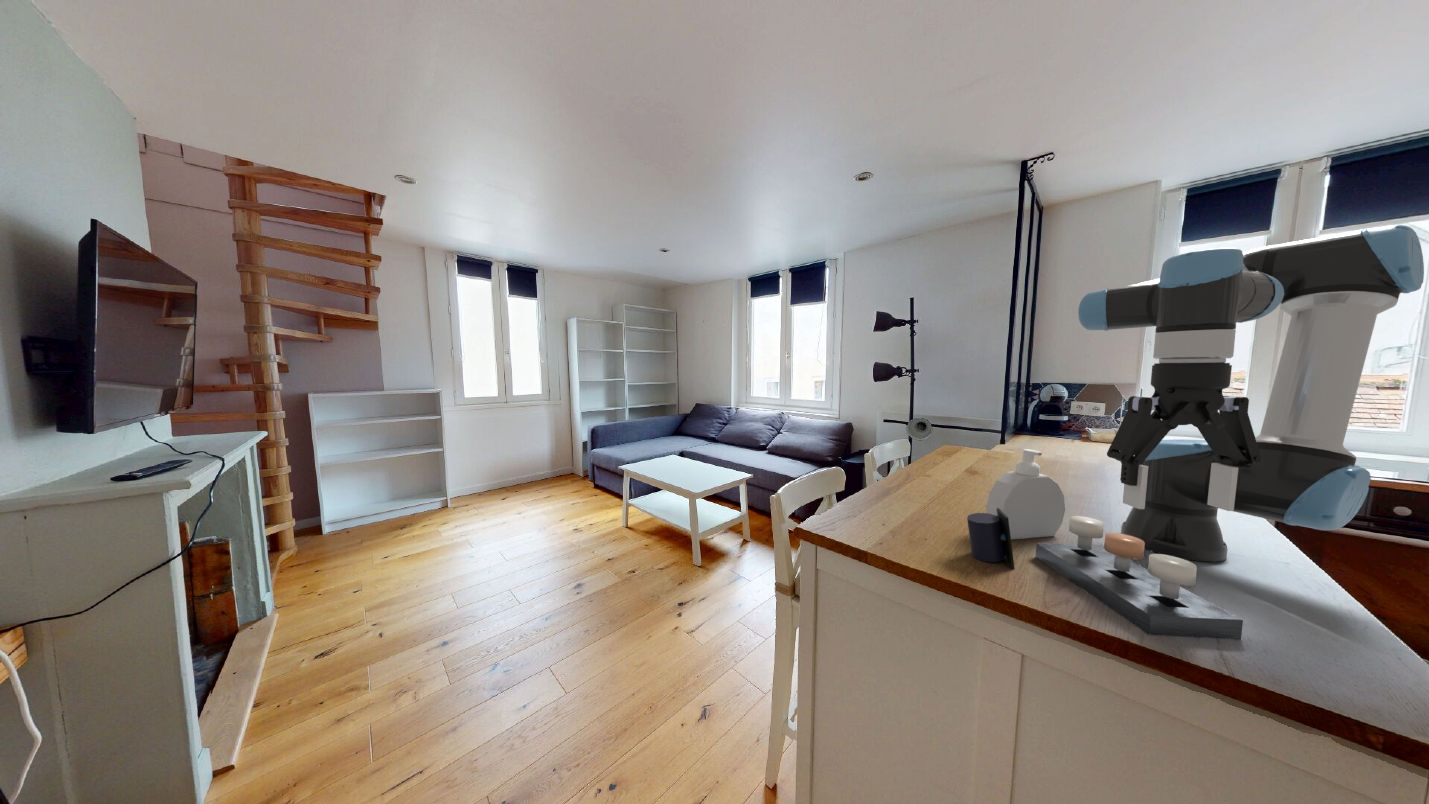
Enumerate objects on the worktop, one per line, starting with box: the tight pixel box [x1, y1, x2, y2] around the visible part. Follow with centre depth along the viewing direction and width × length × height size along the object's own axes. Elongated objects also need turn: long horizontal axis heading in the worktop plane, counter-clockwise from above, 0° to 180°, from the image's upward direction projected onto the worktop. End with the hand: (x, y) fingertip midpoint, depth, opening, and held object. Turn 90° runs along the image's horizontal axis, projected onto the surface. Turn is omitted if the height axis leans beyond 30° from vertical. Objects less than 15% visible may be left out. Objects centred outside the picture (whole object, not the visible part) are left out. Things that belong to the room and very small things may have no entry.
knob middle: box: [1103, 532, 1145, 572], centre depth 69 cm, size 5×5×6 cm
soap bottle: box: [986, 448, 1066, 541], centre depth 92 cm, size 16×5×20 cm, turn 98°
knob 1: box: [1068, 515, 1105, 550], centre depth 77 cm, size 5×5×6 cm
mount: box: [1035, 542, 1244, 640], centre depth 70 cm, size 12×24×3 cm, turn 174°
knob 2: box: [1147, 553, 1198, 599], centre depth 61 cm, size 5×5×6 cm
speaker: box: [966, 508, 1015, 570], centre depth 82 cm, size 8×6×10 cm
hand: (1176, 506), depth 61 cm, fingers open, 11 cm apart
